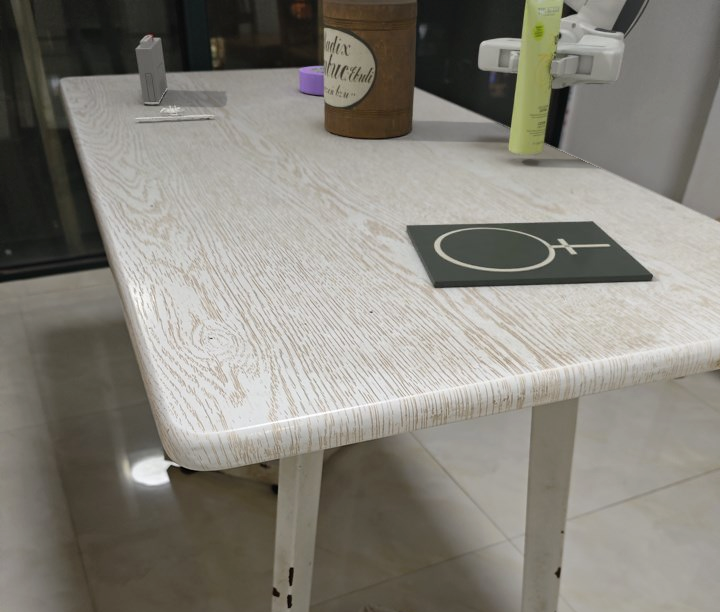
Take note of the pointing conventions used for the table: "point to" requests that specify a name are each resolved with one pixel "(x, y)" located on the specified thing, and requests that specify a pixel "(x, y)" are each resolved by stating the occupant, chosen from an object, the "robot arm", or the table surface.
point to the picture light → (176, 113)
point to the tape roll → (312, 80)
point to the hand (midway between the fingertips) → (535, 66)
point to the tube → (534, 75)
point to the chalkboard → (522, 254)
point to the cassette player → (151, 68)
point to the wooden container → (369, 67)
